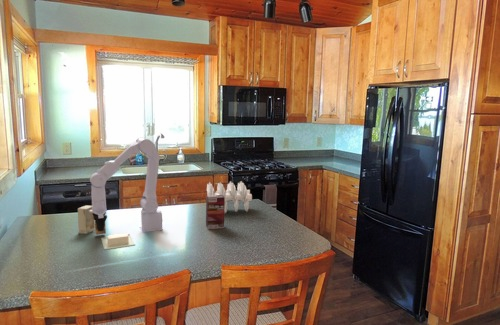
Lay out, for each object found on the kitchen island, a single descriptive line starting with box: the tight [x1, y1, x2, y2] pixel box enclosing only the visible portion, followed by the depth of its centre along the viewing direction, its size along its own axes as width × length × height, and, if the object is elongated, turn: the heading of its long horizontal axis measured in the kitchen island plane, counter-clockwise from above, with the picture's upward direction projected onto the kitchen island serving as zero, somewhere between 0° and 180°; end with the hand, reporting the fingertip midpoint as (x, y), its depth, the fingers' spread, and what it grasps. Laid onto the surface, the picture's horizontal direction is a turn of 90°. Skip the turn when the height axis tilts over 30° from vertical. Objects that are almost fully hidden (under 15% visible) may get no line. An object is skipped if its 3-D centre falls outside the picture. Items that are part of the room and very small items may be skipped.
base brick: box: [106, 232, 129, 246], centre depth 152 cm, size 8×4×3 cm, turn 118°
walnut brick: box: [94, 221, 107, 235], centre depth 159 cm, size 4×4×5 cm
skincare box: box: [77, 204, 95, 235], centre depth 165 cm, size 6×4×12 cm
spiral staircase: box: [206, 180, 253, 214], centre depth 202 cm, size 18×18×25 cm
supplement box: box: [205, 195, 225, 230], centre depth 175 cm, size 9×5×16 cm, turn 107°
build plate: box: [100, 233, 136, 251], centre depth 153 cm, size 12×14×1 cm
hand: (100, 229), depth 159 cm, fingers closed on walnut brick, 4 cm apart
